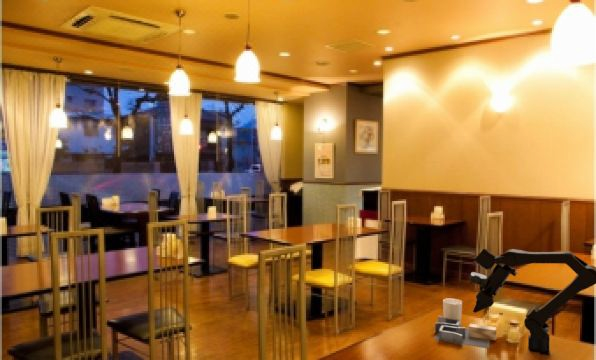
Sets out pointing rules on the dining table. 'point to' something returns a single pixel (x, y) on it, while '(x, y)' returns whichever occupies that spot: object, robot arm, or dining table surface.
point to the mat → (472, 340)
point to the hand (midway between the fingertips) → (475, 307)
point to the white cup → (452, 308)
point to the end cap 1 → (446, 323)
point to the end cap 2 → (452, 334)
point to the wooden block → (482, 331)
